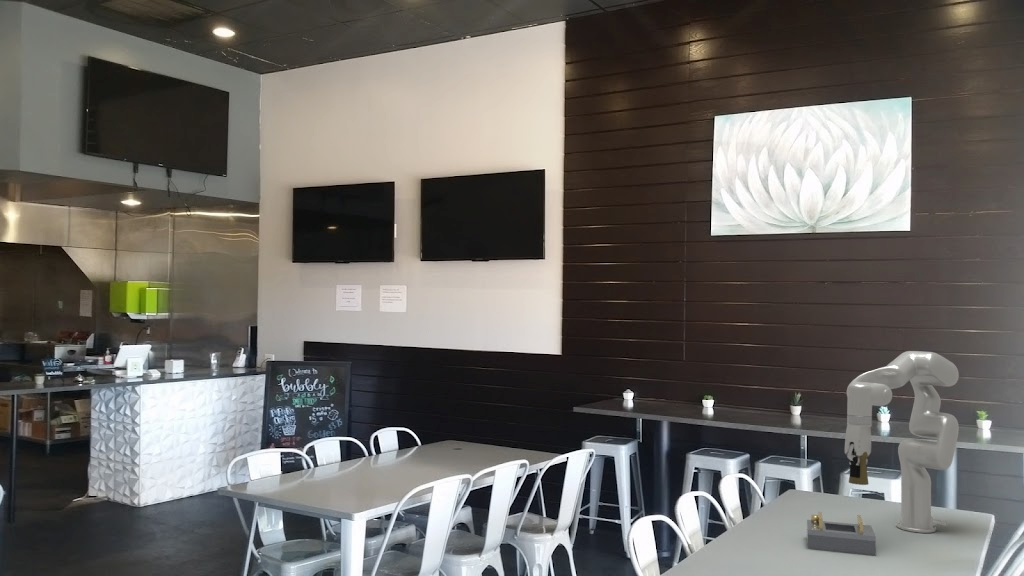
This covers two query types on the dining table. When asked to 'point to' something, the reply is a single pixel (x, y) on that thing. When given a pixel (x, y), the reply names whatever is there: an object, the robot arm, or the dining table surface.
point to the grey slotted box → (840, 536)
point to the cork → (861, 471)
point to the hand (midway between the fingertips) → (858, 476)
